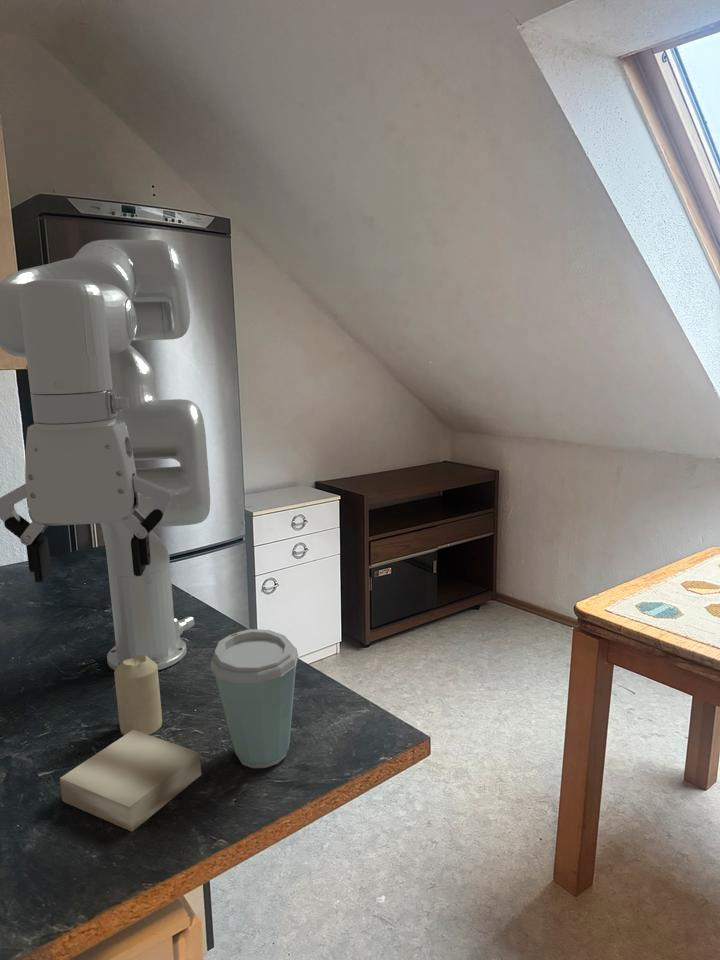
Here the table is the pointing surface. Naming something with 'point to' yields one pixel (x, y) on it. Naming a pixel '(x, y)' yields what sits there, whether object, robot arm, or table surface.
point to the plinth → (131, 779)
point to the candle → (138, 695)
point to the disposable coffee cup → (257, 693)
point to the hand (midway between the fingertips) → (92, 574)
